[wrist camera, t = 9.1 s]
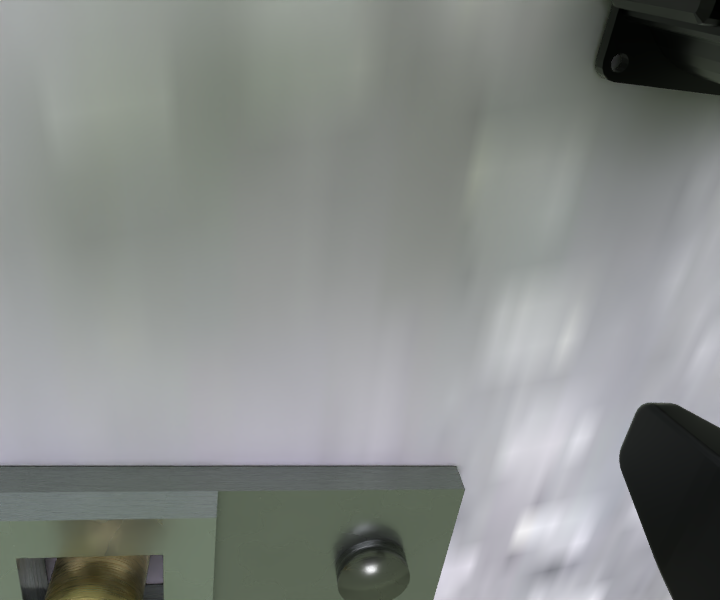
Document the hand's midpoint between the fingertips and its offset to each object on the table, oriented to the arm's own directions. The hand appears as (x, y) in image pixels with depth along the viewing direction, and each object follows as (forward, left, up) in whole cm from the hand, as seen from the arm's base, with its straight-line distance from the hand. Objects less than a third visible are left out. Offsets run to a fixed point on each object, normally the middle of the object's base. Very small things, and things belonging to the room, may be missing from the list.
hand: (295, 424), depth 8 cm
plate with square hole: (+5, +16, -12) cm, 21 cm away
